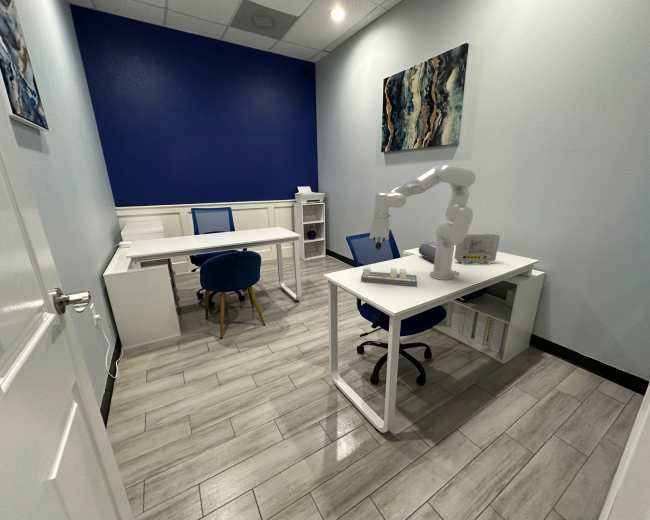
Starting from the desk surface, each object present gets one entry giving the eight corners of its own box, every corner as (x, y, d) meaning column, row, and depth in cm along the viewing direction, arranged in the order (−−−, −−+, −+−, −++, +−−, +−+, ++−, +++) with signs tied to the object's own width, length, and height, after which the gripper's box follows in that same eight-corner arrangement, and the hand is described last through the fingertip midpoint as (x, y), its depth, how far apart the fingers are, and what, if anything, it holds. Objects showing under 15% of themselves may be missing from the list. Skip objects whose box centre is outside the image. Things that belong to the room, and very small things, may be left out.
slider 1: (370, 272, 162) (370, 266, 161) (369, 275, 158) (369, 269, 157) (364, 271, 163) (364, 266, 162) (363, 274, 159) (363, 269, 158)
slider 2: (405, 275, 158) (406, 269, 157) (405, 278, 153) (406, 272, 152) (399, 274, 159) (399, 269, 157) (399, 277, 154) (399, 271, 153)
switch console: (415, 280, 159) (416, 274, 158) (416, 286, 150) (417, 281, 149) (363, 275, 166) (363, 270, 165) (361, 281, 157) (361, 276, 156)
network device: (489, 261, 192) (495, 232, 186) (496, 265, 184) (502, 235, 178) (452, 261, 193) (456, 232, 187) (457, 265, 185) (462, 235, 179)
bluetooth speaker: (448, 265, 184) (450, 250, 181) (435, 266, 182) (437, 251, 179) (428, 255, 205) (430, 242, 202) (417, 256, 203) (418, 243, 200)
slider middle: (396, 274, 159) (397, 268, 158) (396, 277, 154) (396, 271, 153) (390, 274, 160) (390, 268, 159) (390, 277, 155) (390, 271, 154)
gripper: (395, 216, 151) (391, 248, 156) (367, 214, 154) (365, 246, 159) (395, 218, 144) (391, 252, 149) (366, 216, 147) (363, 249, 153)
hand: (378, 249), depth 154 cm, fingers closed
